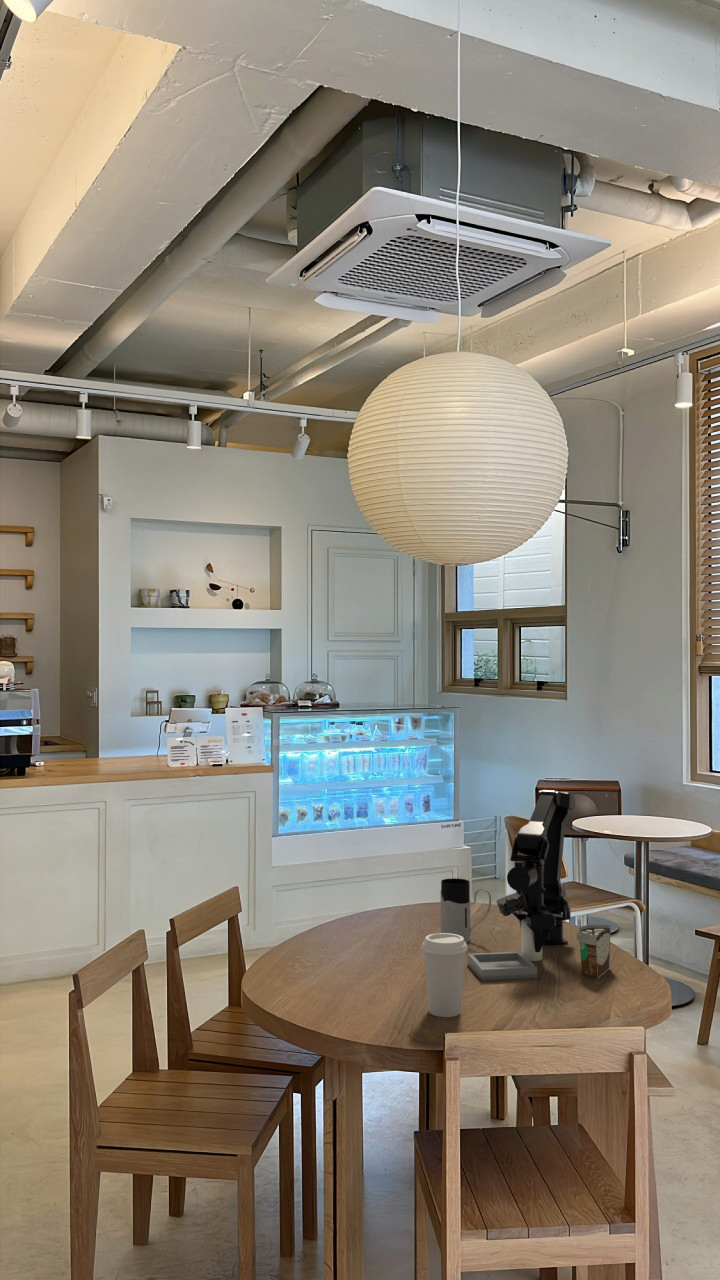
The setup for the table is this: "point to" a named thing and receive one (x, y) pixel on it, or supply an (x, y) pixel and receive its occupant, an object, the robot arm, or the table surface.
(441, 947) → the coffee cup
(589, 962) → the food container
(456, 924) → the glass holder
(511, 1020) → the table surface
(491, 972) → the tray
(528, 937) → the cylinder
